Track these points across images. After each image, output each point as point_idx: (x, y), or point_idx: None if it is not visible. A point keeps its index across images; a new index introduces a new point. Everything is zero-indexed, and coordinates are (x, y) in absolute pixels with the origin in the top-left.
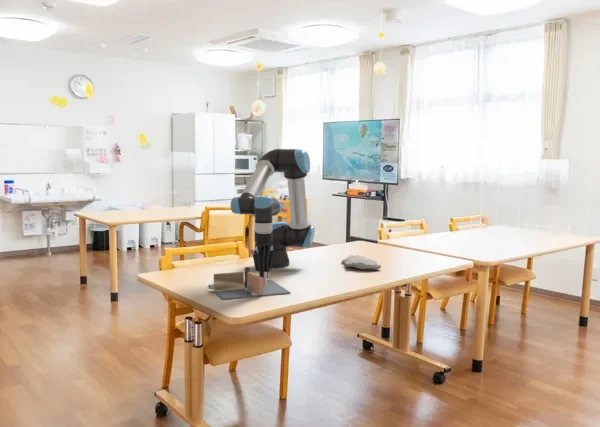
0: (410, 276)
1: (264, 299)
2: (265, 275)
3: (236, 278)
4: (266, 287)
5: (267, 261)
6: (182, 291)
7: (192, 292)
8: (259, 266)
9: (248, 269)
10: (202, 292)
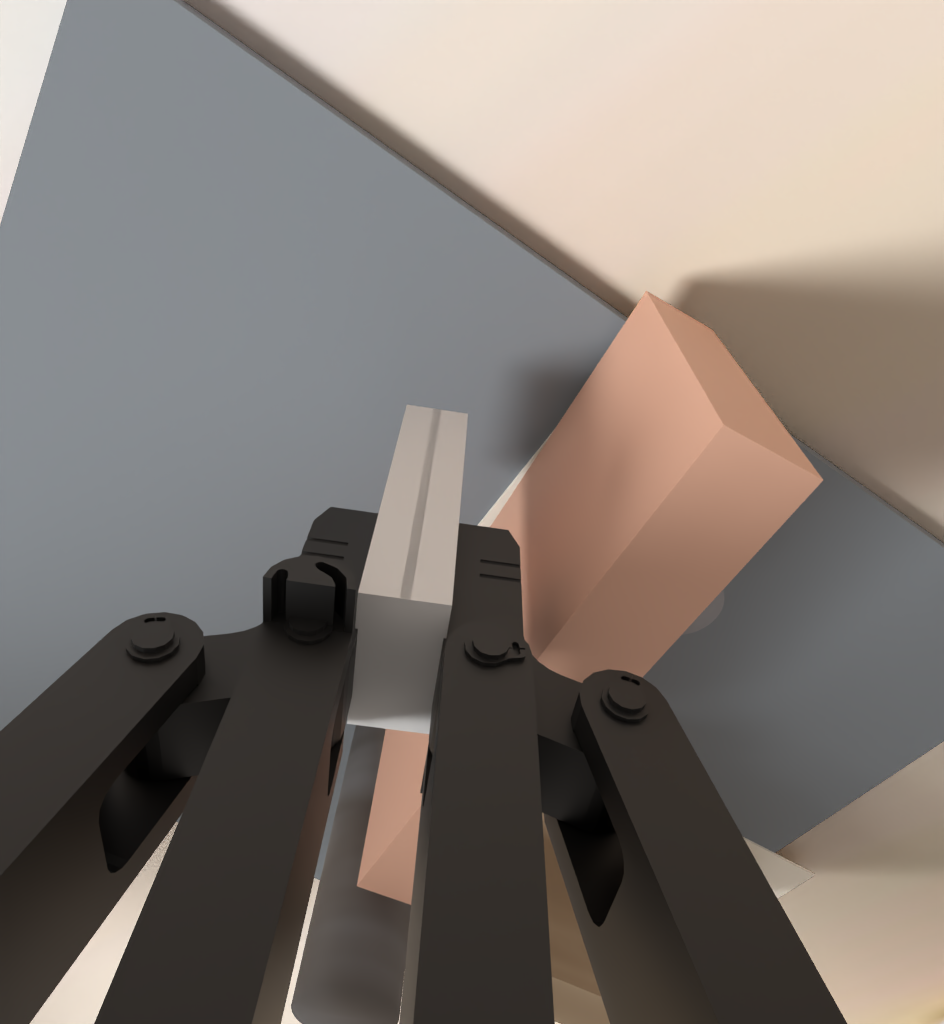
0: None
1: (787, 148)
2: (428, 545)
3: (553, 890)
4: (204, 528)
5: (228, 904)
6: (868, 1012)
7: (864, 957)
8: (704, 827)
9: (372, 957)
10: (821, 909)
